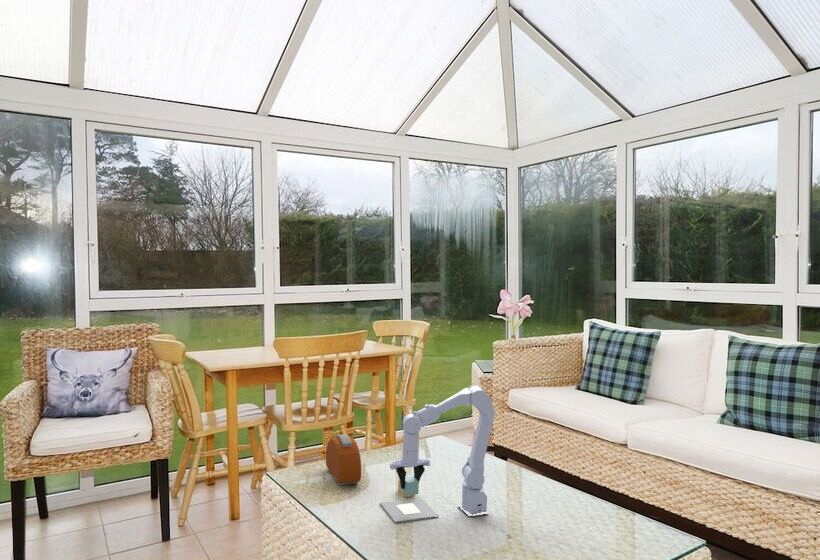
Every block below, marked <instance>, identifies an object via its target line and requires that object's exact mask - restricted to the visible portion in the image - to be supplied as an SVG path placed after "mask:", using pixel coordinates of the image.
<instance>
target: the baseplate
mask: <svg viewBox="0 0 820 560" xmlns="http://www.w3.org/2000/svg"><path fill="white" fill-rule="evenodd" d="M379 505H380V506H381V508H382V509H383V510H384V512H385V513H386V515H388V517H389V518H390V519H391V520H392V522H393V523H394V524H401V523H408V522H414V521H415V522H416V521H421V519H423V520H426V519H425V518H430V517H435V516H438V517H439V515H438V514H437V513H436V511H435V510H434V509H432V507H431V506H430V505H429V504H428V503H427V502H426V501H425V500H424V499H423V498H422V497H416V498H414V497H413V498H407V499H399V500H391V501H390V500H389V501H383V502H379Z"/></svg>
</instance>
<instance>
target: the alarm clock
mask: <svg viewBox="0 0 820 560" xmlns="http://www.w3.org/2000/svg"><path fill="white" fill-rule="evenodd" d="M325 466H326V467H327V469H328V470H329V471H328V472H330V474H331V475H332V476H333V478H334V479H335V481H336V482H337V485H338V486H342V484H343V485H352V484H358V482H360V481H361V479H362V459H361V454H360V450H359V446H358V443H357V442H356V440H355V438H353V437H352V436H348V434H336V435H335V437H332V438H330V439H329V440H328V442H327V445H326V450H325Z"/></svg>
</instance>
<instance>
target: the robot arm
mask: <svg viewBox="0 0 820 560" xmlns="http://www.w3.org/2000/svg"><path fill="white" fill-rule="evenodd" d="M461 405H463V406H467V407H471V405H472V406H474V407H475V409H476V410H477V411H478V413H479V416H478V421H477V426H476V429H475V434H474V437H473V442H472V446H471V450H470V455H469V456H468V458H467V459H466V463H465V464H464V465H463V466H462V469H461V474H462V476H463V478H464V480H463V482H462V490H461V492H462V494H461V505H462V508H463V509H464V510H466V511H468V512H469V513H470V514H472V515H473V514H477V513H481V512H486V511H487V510H488V508H487V507H488V496H487V494H486V493H485V490H484V483H485V475H484V474H485V458H486V454H487V449H488V444H489V441H490V438H491V437H490V436H491V433H492V428H493V423H494V419H495V416H496V413H495V411H496V410H495V408H494V406H493V403H492V398H491V397H490V396H489V394H488V393H487V392H486V391H485V390H483V389H482V387H481V386H479V385H476V384H472V385H470V386H468V387H465V388H463V389H462V390H460V391H458V392H457V393H455V394H454V395H451V396H450V397H448V398H447V399H444V400H443V401H441V402H439V403H438V404H432V403H431V404H427V403H426V404H424V407H423V408H421V409H419V410H417V411H416V410H415V411H412V413H408V414H407V415H405V416H404V418H403V420H402V422H401V423H402V425H403V427H404V428H403V431H402V432H403V435H402V457H401V458H402V459H401V460H397V461H393V462H392V461H391V462H390V463H389V469H390V470H391V471H393V470H395V471H396V473H397V475H398V479H400V484H401V488H402V489H405V477H406V475H407V471H406V469H407V468H413V476H414V477H415V478H416V479H417V480H418V481H419V482H420V481H421V478H422V476H423V474H424V472H425V470H426V469H425V466H426V467H430V466H431V460H430V459H429V458H419V454H420V453H419V451H420V435H419V434H420V432H421V429H422V428H424V427H426V426H428V425H430V424H431V423H433V422H435V421H438V420H439V419H440V416H441V414H444V413H446V412H448V411H450V410H452V409H454V408H456V407H458V406H461ZM405 468H406V469H405ZM487 512H488V511H487Z"/></svg>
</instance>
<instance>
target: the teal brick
mask: <svg viewBox="0 0 820 560" xmlns="http://www.w3.org/2000/svg"><path fill="white" fill-rule="evenodd" d="M419 484H420V481H418V480H417V479H416V478H415V477H414V474H413V475H412V474H406V477H405V489H402V488H401V484H400V489H401V490H402V491H403V492H404V493H405V494H406V495H415V496H416V495H419Z"/></svg>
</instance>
